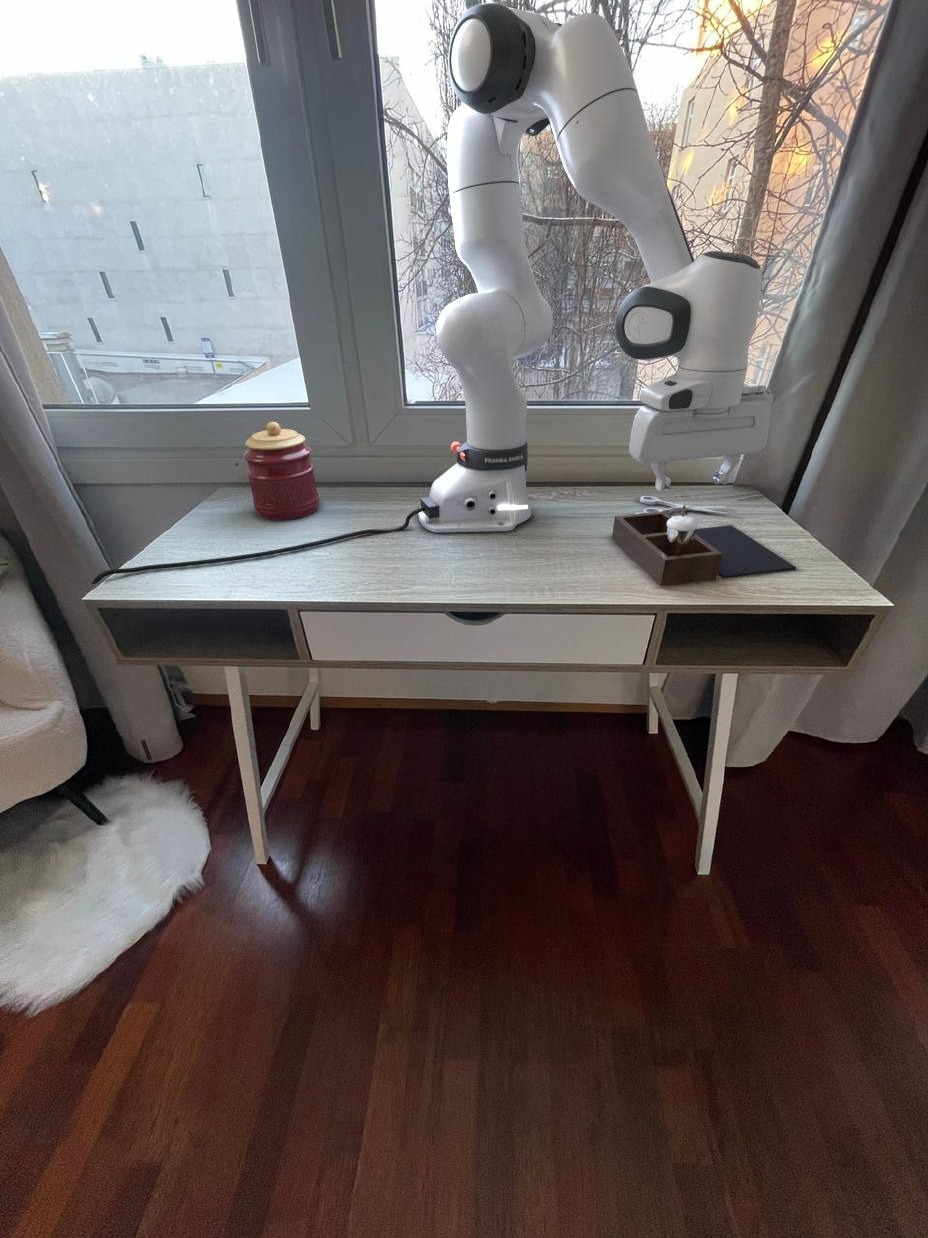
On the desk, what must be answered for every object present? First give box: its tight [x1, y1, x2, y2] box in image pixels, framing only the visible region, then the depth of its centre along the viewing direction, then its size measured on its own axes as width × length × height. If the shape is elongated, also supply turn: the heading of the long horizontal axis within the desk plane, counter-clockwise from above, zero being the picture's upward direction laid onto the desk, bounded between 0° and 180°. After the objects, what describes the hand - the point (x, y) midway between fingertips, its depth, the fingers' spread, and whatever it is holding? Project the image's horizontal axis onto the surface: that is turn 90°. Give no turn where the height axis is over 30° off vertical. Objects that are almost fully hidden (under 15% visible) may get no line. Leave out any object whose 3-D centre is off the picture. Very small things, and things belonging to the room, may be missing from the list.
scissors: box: [634, 495, 741, 516], centre depth 117 cm, size 11×1×20 cm
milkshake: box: [665, 504, 698, 557], centre depth 94 cm, size 5×5×10 cm
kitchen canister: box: [242, 421, 320, 521], centre depth 118 cm, size 13×13×18 cm
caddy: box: [611, 511, 722, 587], centre depth 99 cm, size 10×18×4 cm, turn 12°
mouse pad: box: [695, 524, 797, 579], centre depth 102 cm, size 13×18×1 cm
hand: (691, 486), depth 89 cm, fingers open, 8 cm apart
